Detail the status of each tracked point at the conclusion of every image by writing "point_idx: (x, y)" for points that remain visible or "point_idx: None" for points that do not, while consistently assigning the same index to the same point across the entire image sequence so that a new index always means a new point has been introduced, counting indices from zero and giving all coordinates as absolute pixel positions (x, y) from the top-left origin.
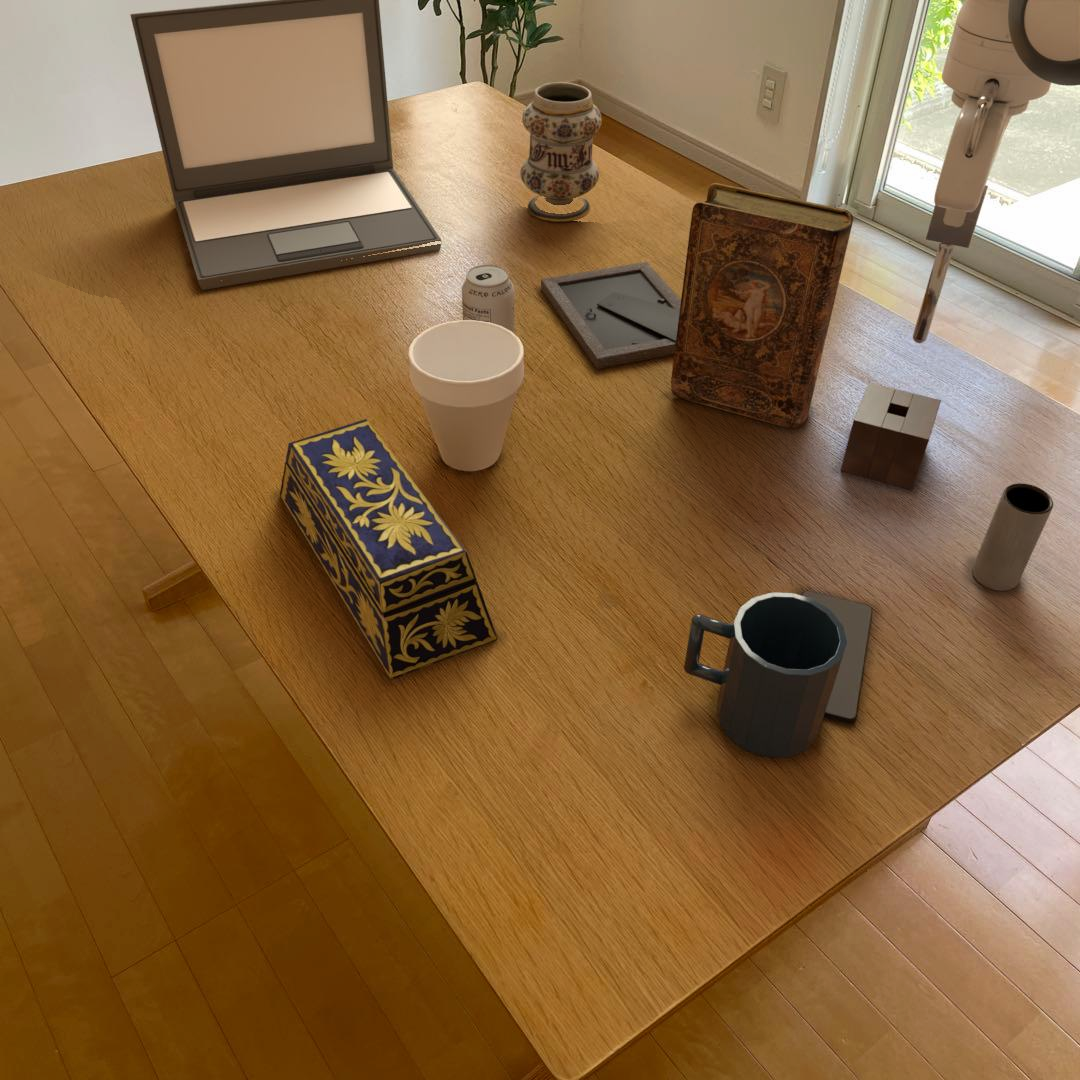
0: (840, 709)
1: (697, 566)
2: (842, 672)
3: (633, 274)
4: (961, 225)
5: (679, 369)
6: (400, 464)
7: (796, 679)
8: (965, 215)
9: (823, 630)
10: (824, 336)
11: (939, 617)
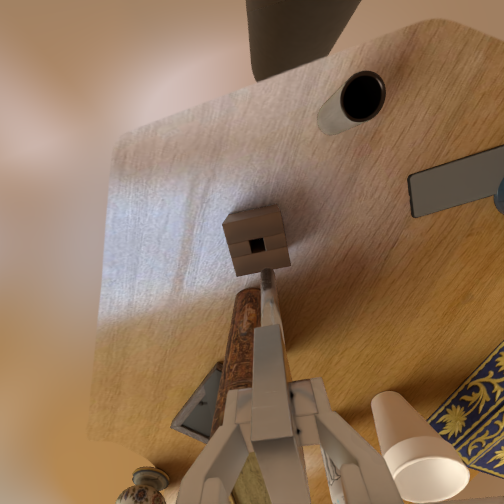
0: None
1: (418, 275)
2: (479, 166)
3: (186, 425)
4: (321, 378)
5: None
6: (501, 438)
7: None
8: (327, 397)
9: None
10: (250, 330)
11: (394, 134)
